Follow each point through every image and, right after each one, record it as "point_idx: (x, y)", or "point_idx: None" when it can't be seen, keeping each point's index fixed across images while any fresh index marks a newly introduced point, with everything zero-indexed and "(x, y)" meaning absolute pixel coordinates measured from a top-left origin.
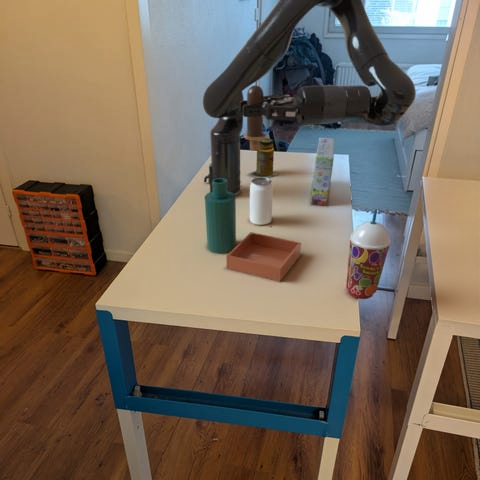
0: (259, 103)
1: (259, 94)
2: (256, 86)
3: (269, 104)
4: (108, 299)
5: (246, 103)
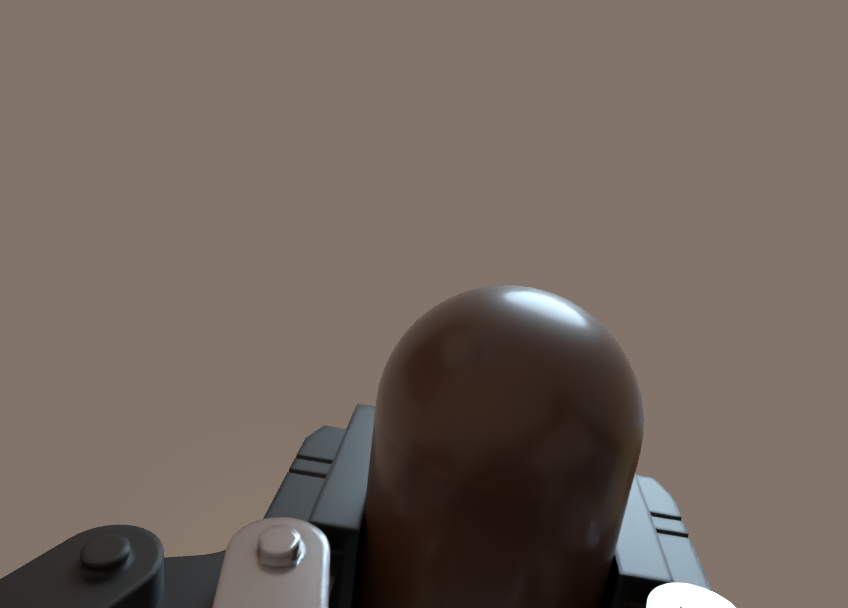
0: (367, 514)
1: (383, 396)
2: (486, 297)
3: (225, 604)
4: None
5: None
